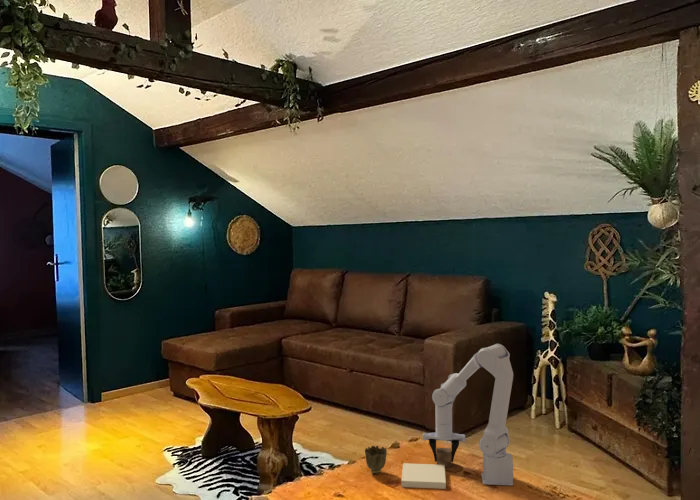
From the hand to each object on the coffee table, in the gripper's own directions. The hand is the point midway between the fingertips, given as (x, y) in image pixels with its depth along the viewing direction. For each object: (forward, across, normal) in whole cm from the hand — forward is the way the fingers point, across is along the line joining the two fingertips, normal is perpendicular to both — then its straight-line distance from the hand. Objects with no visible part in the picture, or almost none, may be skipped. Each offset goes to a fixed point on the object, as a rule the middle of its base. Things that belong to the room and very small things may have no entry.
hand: (443, 460), depth 211 cm
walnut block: (+1, 0, 0) cm, 1 cm away
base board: (+1, +7, +12) cm, 14 cm away
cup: (+2, +23, +9) cm, 25 cm away
